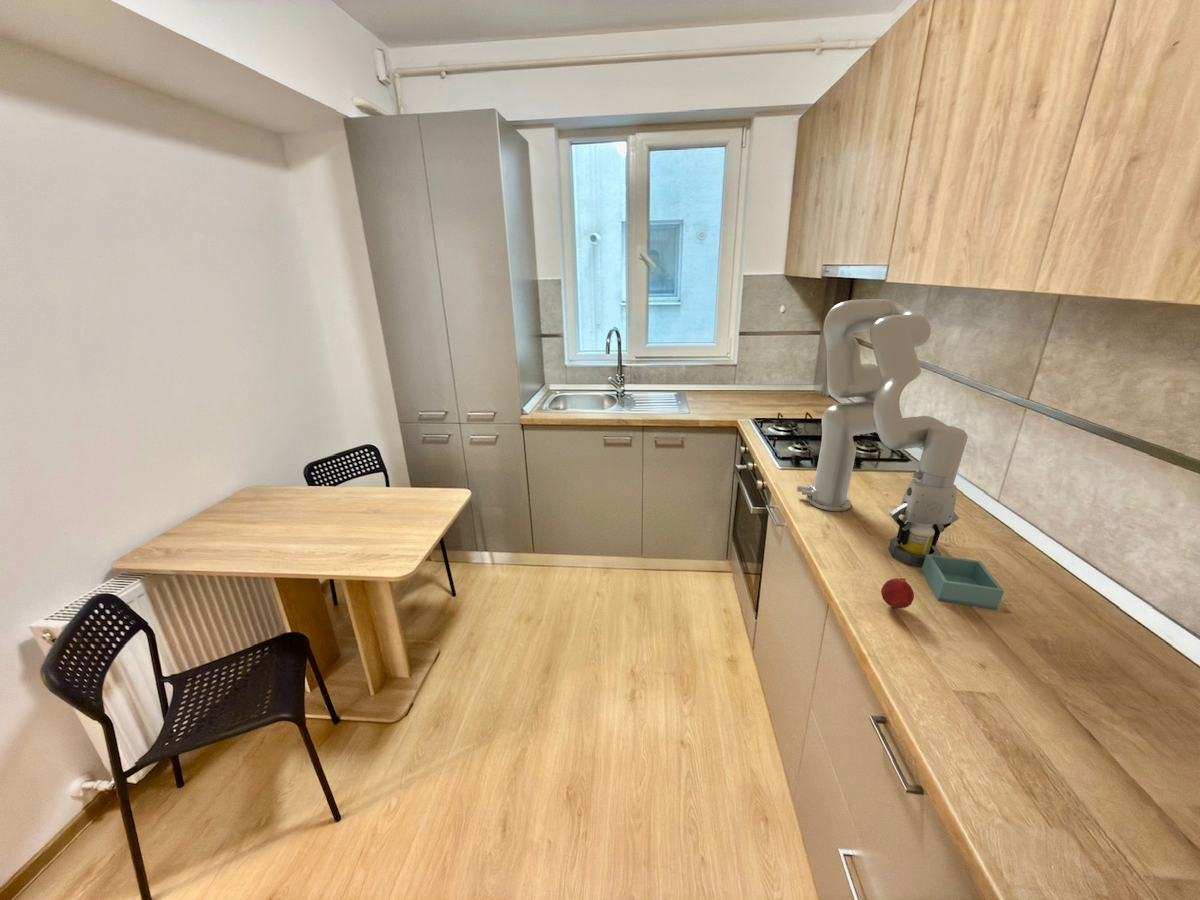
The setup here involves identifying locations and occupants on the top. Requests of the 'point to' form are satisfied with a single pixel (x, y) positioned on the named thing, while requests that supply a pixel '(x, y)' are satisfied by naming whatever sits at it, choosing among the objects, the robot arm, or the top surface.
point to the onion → (897, 593)
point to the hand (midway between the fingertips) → (916, 541)
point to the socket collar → (909, 554)
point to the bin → (961, 581)
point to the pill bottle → (919, 539)
